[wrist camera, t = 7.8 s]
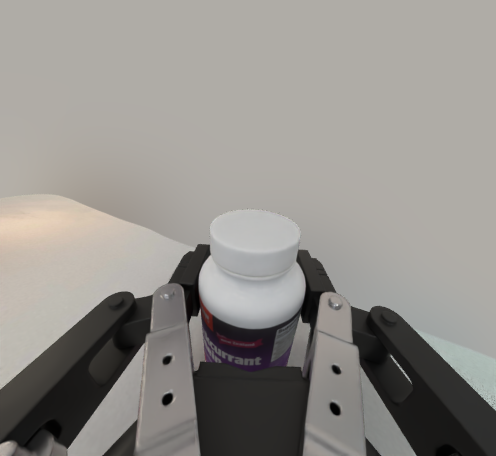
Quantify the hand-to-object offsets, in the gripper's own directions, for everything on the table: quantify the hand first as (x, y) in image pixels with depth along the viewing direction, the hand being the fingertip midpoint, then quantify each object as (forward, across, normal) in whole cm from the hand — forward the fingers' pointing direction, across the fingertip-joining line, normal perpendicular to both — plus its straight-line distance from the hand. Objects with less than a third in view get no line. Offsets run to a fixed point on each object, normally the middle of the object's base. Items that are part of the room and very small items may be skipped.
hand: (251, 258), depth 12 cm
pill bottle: (-3, 0, +6) cm, 7 cm away
